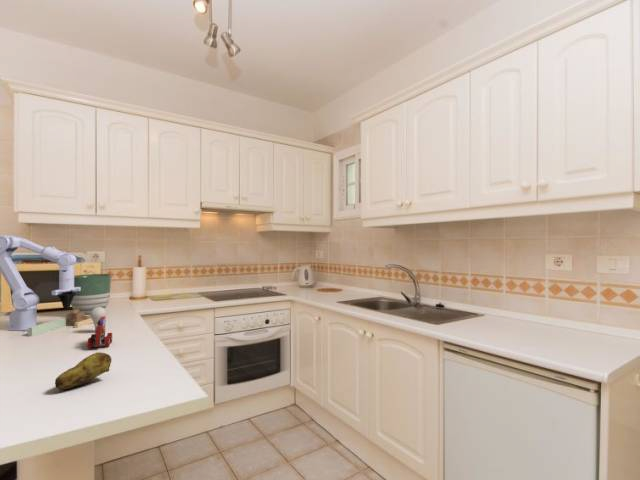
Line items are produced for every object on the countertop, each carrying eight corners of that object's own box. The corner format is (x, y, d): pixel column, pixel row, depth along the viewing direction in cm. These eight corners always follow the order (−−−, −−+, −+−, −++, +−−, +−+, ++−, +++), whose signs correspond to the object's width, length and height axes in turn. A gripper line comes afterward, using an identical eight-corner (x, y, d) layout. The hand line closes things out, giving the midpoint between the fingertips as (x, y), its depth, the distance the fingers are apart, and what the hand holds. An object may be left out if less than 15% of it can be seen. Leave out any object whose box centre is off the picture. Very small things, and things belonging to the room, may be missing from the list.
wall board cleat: (27, 336, 145) (27, 327, 145) (74, 322, 171) (74, 315, 171) (50, 336, 145) (50, 328, 145) (94, 322, 170) (94, 315, 170)
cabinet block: (66, 326, 163) (66, 311, 163) (74, 323, 168) (74, 309, 168) (76, 326, 163) (76, 311, 163) (84, 323, 168) (84, 308, 168)
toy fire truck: (85, 351, 124) (85, 323, 124) (93, 342, 136) (93, 316, 136) (108, 349, 127) (108, 321, 127) (113, 340, 139) (113, 314, 139)
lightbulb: (98, 334, 148) (98, 308, 148) (86, 333, 149) (86, 308, 149) (109, 330, 154) (109, 306, 154) (98, 330, 155) (98, 305, 155)
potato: (57, 384, 96) (57, 355, 96) (111, 374, 103) (111, 347, 103) (53, 395, 89) (53, 364, 89) (111, 384, 96) (111, 355, 96)
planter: (84, 319, 176) (84, 278, 176) (60, 316, 183) (60, 276, 183) (119, 312, 194) (119, 274, 194) (95, 310, 201) (95, 273, 201)
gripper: (62, 281, 155) (61, 311, 155) (86, 278, 169) (86, 305, 169) (47, 281, 155) (47, 311, 155) (73, 277, 170) (72, 305, 170)
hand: (66, 308), depth 162 cm, fingers closed
